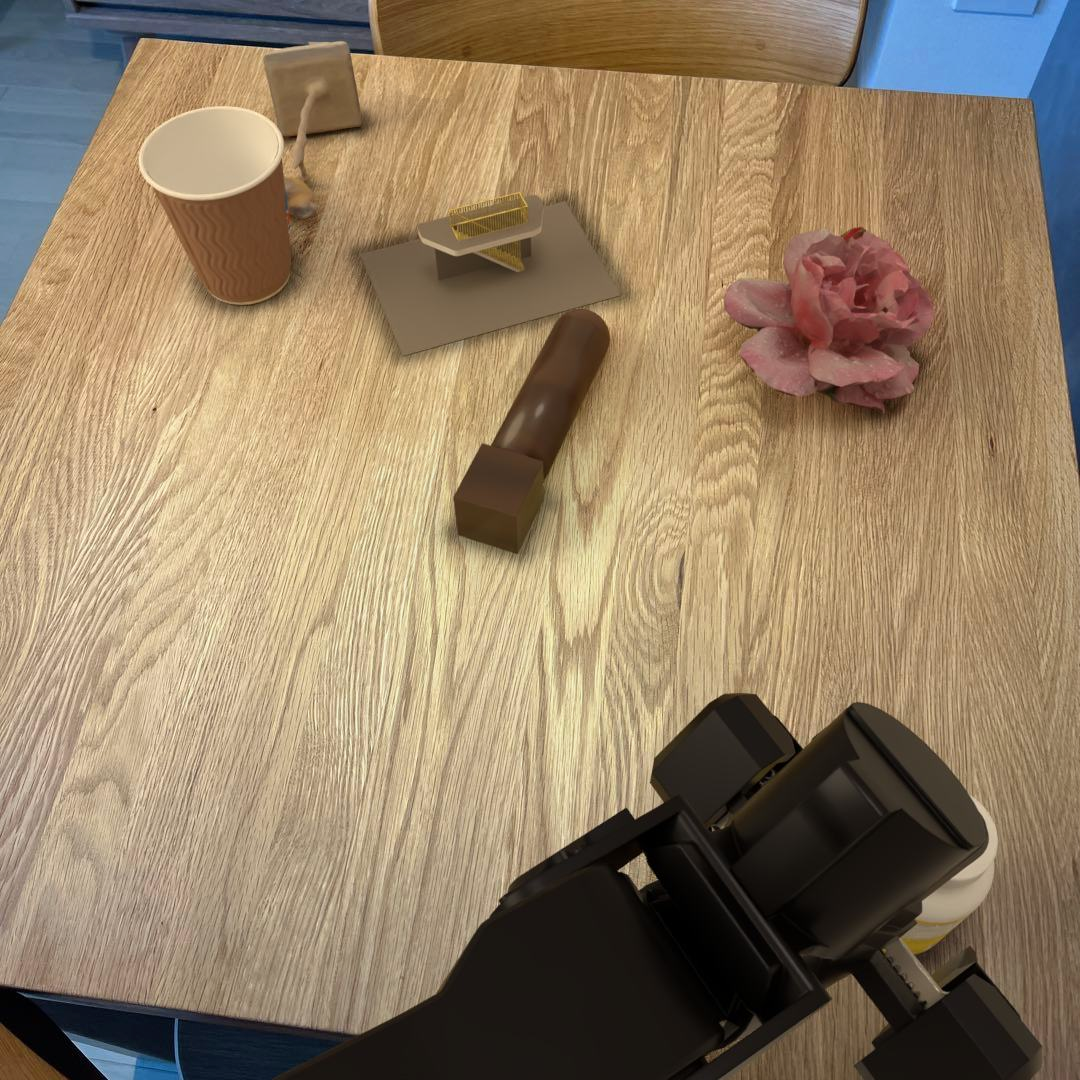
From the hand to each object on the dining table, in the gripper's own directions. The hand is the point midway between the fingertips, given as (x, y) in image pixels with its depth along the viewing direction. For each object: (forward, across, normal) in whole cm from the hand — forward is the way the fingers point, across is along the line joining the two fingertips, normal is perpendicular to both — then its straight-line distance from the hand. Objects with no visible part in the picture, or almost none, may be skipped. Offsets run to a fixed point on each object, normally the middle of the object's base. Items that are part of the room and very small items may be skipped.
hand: (897, 871), depth 55 cm
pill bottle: (+9, 0, +5) cm, 10 cm away
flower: (+25, +33, -11) cm, 43 cm away
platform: (+14, +55, 0) cm, 56 cm away
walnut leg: (+10, +38, +4) cm, 40 cm away
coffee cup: (+2, +65, +12) cm, 66 cm away
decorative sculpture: (+8, +75, +6) cm, 76 cm away
